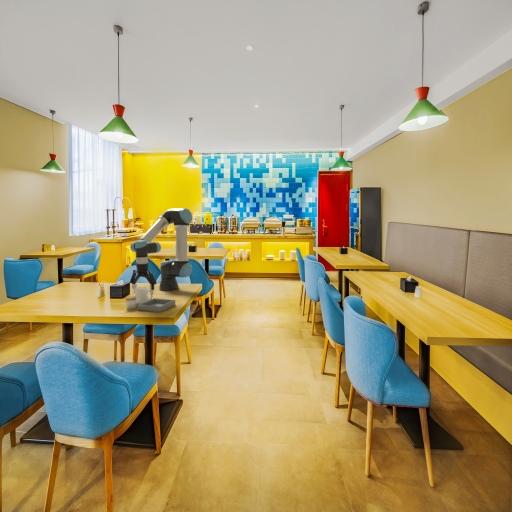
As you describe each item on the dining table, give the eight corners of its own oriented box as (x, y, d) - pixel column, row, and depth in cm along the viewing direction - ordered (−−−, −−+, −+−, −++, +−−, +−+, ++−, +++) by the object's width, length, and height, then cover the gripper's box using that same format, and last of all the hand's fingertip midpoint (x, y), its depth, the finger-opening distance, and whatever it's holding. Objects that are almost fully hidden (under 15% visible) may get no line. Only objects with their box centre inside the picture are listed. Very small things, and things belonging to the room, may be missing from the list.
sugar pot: (131, 306, 212) (130, 296, 211) (139, 306, 210) (138, 296, 209) (123, 308, 206) (123, 298, 205) (132, 309, 204) (131, 299, 203)
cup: (139, 300, 225) (138, 286, 224) (155, 301, 223) (154, 286, 222) (133, 304, 217) (132, 289, 216) (150, 304, 215) (149, 289, 214)
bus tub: (154, 303, 218) (154, 298, 217) (175, 305, 213) (175, 300, 212) (138, 310, 202) (137, 304, 202) (160, 312, 197) (160, 306, 197)
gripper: (123, 263, 217) (124, 293, 219) (154, 264, 209) (155, 296, 211) (130, 261, 224) (132, 291, 226) (161, 263, 216) (162, 293, 218)
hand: (143, 294), depth 219 cm, fingers open, 13 cm apart
